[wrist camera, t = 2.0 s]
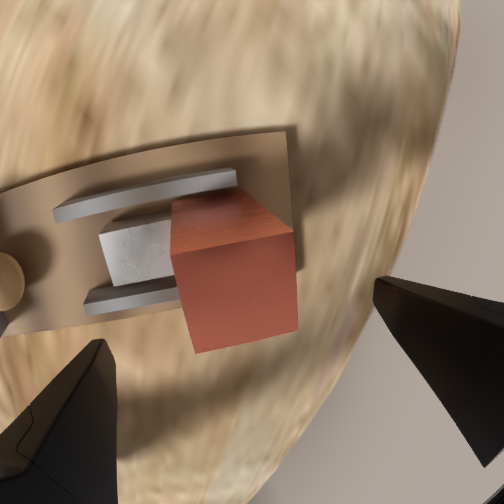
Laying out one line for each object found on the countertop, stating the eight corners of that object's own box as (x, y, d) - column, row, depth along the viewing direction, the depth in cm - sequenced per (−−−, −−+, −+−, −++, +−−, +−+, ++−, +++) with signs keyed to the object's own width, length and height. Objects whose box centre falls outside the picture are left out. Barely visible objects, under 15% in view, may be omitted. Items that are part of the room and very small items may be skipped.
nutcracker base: (-1, 328, 17) (-25, 369, 13) (-45, 212, 13) (-86, 235, 9) (289, 275, 22) (320, 314, 17) (278, 131, 18) (315, 131, 13)
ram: (121, 278, 17) (97, 369, 10) (104, 215, 16) (56, 278, 8) (249, 253, 19) (298, 329, 11) (241, 188, 17) (294, 231, 10)
